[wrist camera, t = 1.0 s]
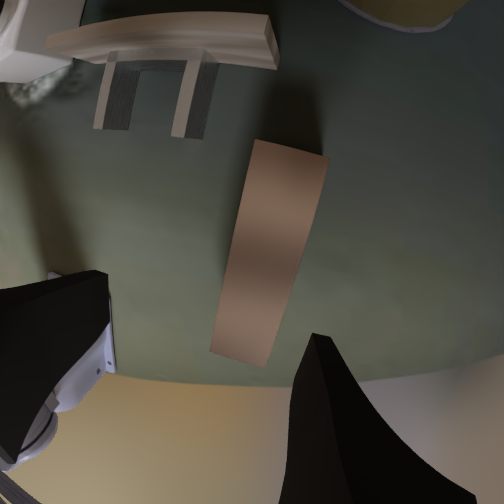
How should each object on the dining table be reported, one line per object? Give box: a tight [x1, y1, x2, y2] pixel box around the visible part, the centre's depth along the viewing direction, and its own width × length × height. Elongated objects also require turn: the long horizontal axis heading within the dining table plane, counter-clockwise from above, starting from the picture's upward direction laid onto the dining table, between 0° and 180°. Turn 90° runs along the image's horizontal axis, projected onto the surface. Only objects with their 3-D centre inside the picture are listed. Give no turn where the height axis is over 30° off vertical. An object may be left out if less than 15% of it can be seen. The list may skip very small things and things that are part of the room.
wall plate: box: [43, 12, 280, 70], centre depth 13 cm, size 1×14×6 cm, turn 78°
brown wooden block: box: [209, 139, 330, 368], centre depth 17 cm, size 12×3×5 cm, turn 167°
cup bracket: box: [93, 47, 219, 140], centre depth 15 cm, size 5×7×3 cm
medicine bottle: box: [0, 0, 85, 83], centre depth 10 cm, size 7×7×12 cm
